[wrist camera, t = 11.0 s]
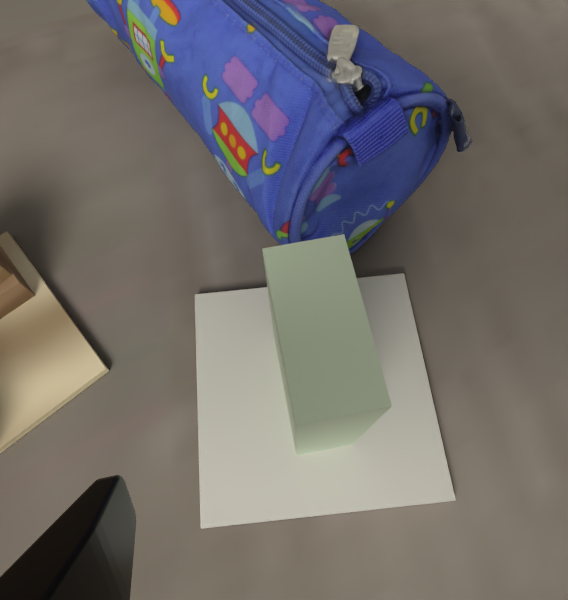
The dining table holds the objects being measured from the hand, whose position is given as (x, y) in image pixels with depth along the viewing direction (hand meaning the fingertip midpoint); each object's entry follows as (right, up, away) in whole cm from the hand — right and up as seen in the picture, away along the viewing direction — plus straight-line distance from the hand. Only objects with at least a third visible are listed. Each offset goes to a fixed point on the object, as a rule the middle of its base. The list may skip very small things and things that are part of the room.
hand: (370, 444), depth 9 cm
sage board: (0, -1, +12) cm, 12 cm away
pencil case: (-3, +13, +19) cm, 23 cm away
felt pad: (0, -1, +12) cm, 12 cm away
